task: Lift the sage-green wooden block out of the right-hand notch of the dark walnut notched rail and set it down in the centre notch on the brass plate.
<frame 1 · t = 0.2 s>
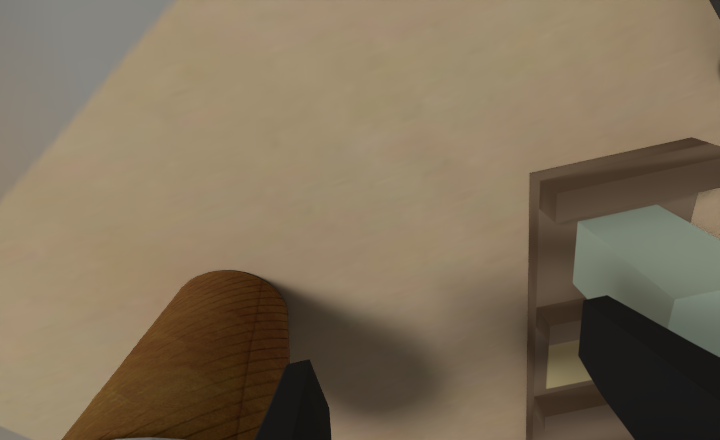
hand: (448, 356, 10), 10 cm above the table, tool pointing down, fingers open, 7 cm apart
notch rail: (588, 338, 24), on the table
disposable coffee cup: (233, 312, 21), on the table
sage block: (612, 245, 20), point 1 cm above the table, touching notch rail
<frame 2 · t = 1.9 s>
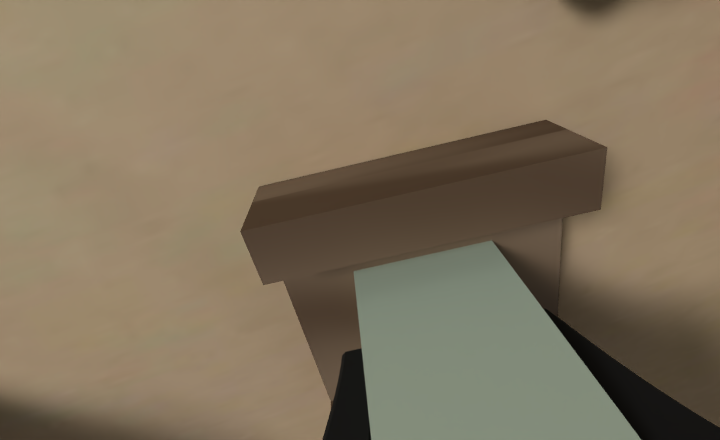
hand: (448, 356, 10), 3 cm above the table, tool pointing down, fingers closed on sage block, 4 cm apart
notch rail: (447, 430, 16), on the table
sage block: (430, 308, 12), point 1 cm above the table, touching gripper, notch rail
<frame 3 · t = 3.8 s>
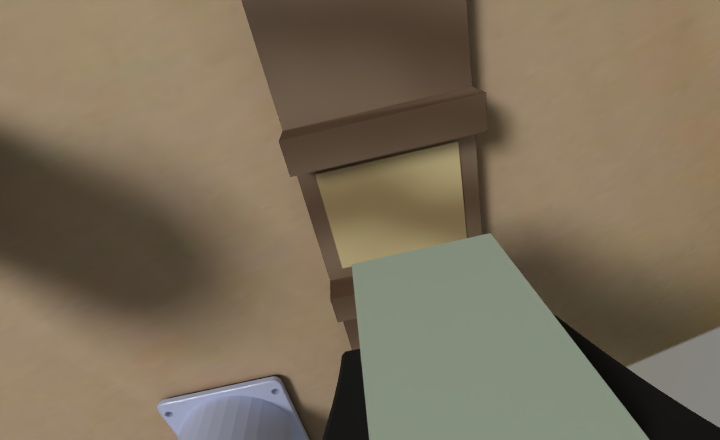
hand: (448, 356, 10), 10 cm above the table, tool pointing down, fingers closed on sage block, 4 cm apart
notch rail: (392, 199, 19), on the table
sage block: (429, 302, 12), point 8 cm above the table, touching gripper
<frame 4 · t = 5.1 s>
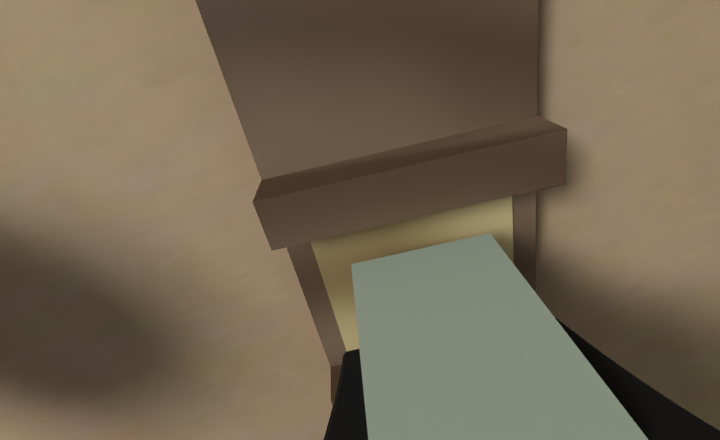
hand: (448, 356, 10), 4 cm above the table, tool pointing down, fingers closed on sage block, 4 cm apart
notch rail: (414, 262, 14), on the table
sage block: (428, 302, 12), point 2 cm above the table, touching gripper
when the fingers open (4 cm above the table, at t = 5.2 s): sage block drops 1 cm, resting on notch rail.
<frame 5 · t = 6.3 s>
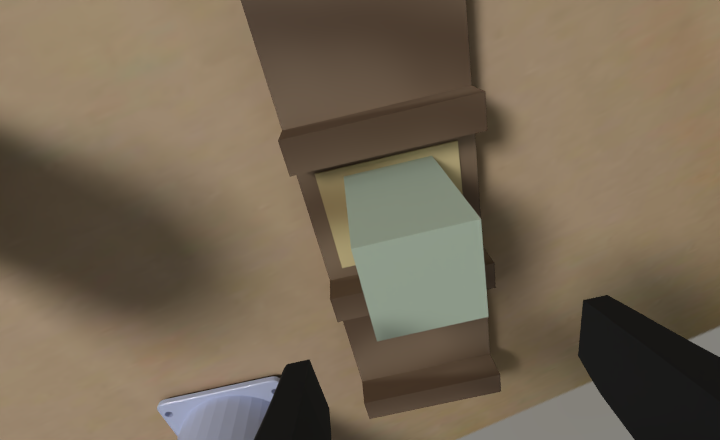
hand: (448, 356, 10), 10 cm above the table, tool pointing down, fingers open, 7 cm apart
notch rail: (392, 199, 19), on the table
sage block: (395, 205, 18), point 1 cm above the table, touching notch rail
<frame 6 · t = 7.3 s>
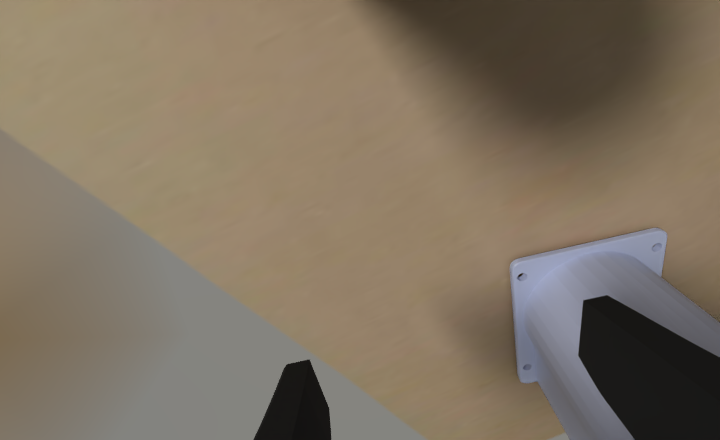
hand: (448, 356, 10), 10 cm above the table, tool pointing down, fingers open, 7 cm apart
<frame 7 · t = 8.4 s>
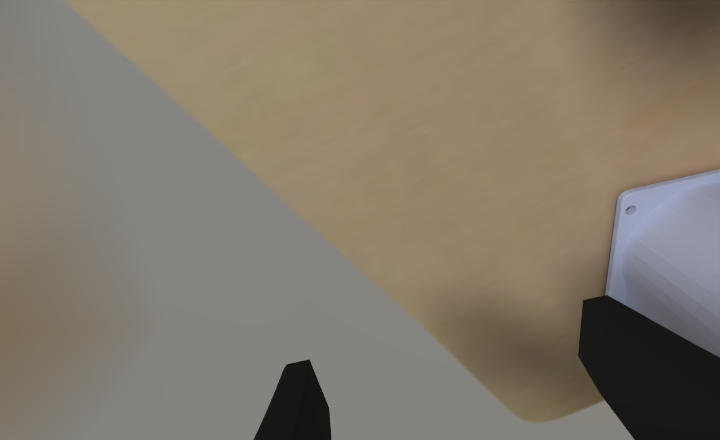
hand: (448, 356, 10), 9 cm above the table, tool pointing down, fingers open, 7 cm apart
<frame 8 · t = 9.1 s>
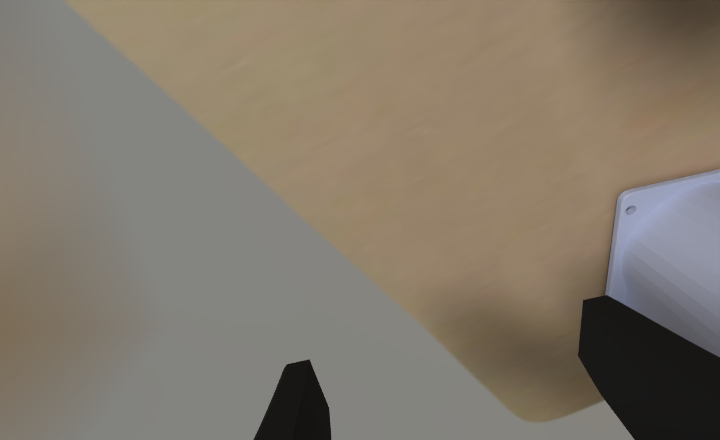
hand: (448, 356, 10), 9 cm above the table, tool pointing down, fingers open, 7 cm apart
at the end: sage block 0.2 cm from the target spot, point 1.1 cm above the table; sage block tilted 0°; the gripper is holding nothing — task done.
